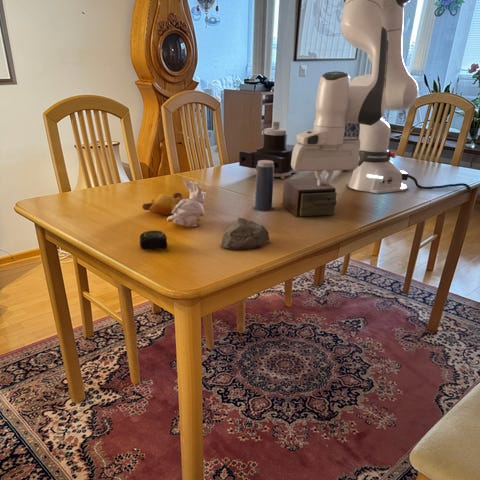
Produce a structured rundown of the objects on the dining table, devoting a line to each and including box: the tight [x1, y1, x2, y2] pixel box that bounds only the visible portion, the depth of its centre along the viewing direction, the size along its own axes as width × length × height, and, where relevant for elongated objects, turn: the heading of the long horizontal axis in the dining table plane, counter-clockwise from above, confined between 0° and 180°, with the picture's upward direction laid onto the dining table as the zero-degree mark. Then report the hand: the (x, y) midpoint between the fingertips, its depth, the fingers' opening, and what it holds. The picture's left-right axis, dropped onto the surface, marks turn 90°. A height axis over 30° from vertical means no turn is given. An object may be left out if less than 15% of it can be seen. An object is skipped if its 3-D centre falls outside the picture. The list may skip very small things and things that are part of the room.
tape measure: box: [139, 229, 168, 251], centre depth 117 cm, size 7×7×4 cm
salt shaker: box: [254, 160, 275, 212], centre depth 147 cm, size 6×6×15 cm
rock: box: [221, 216, 270, 251], centre depth 120 cm, size 13×9×6 cm, turn 131°
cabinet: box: [282, 177, 337, 218], centre depth 149 cm, size 14×12×8 cm
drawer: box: [299, 191, 338, 217], centre depth 144 cm, size 18×11×7 cm, turn 14°
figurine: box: [166, 178, 207, 227], centre depth 132 cm, size 8×15×13 cm, turn 145°
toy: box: [141, 192, 183, 216], centre depth 144 cm, size 11×6×15 cm
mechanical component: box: [238, 121, 298, 180], centre depth 191 cm, size 22×21×30 cm
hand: (322, 185), depth 136 cm, fingers closed
